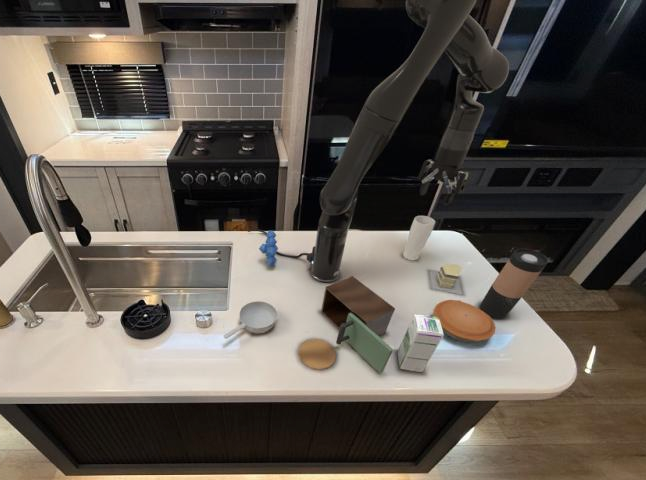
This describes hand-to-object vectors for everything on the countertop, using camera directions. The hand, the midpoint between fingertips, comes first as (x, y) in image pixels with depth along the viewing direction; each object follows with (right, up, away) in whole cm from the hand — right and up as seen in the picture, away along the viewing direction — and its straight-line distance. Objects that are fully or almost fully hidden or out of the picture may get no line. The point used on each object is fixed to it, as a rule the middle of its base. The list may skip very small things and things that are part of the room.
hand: (433, 199), depth 101 cm
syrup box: (-17, -49, -19) cm, 55 cm away
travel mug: (+14, -36, -6) cm, 39 cm away
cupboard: (-29, -39, -9) cm, 50 cm away
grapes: (-53, -19, +13) cm, 57 cm away
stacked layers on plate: (+6, -27, +5) cm, 28 cm away
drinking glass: (0, -17, +16) cm, 23 cm away
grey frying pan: (-59, -41, -11) cm, 73 cm away
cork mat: (-41, -47, -18) cm, 65 cm away
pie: (+1, -40, -11) cm, 42 cm away
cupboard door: (-31, -47, -19) cm, 59 cm away
